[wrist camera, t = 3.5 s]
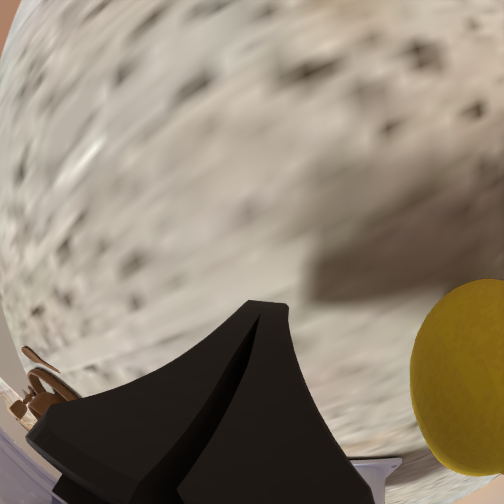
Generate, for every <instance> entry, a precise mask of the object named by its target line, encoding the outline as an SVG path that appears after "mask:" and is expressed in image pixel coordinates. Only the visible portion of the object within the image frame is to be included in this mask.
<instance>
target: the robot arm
mask: <svg viewBox="0 0 504 504" xmlns="http://www.w3.org/2000/svg"><path fill="white" fill-rule="evenodd" d="M288 314H289V307H288V305H287V304H285V303H274V302H264V301H254V300H248V301H247V302H245V303H244V304H243V305H242V306H241V307H240V308H239V309H238V310H237V311H236V312H235V313H234V314H233V315H231V316H230V317H229V318H228V319H227V320H226V321H225V322H224V323H223V324H221V325H220V326H219V327H218V328H217V329H216V330H214V331H213V332H212V333H211V334H210V335H208V336H207V337H206V338H205V339H203V340H202V341H201V342H199V343H198V344H197V345H195V346H194V347H193V348H191V349H190V350H188V351H187V352H186V353H184V354H183V355H181V356H180V357H178V358H176V359H175V360H173V361H172V362H170V363H168V364H166V365H165V366H163V367H161V368H159V369H157V370H156V371H153V372H151V373H149V374H147V375H145V376H143V377H141V378H139V379H136V380H134V381H132V382H130V383H127V384H125V385H122V386H120V387H117V388H114V389H111V390H108V391H105V392H102V393H99V394H96V395H92V396H89V397H85V398H80V399H76V400H71V401H66V402H61V403H55V404H51V405H50V406H49V408H48V409H47V410H46V411H45V412H44V414H43V415H42V416H41V417H40V419H39V420H38V421H37V422H36V424H35V425H34V426H33V427H32V429H31V430H30V431H29V432H28V434H27V435H26V441H27V442H28V444H30V446H31V447H32V448H33V449H35V450H36V451H37V452H38V453H39V454H40V455H41V456H42V457H43V458H44V459H46V460H47V461H48V462H49V463H50V464H51V465H53V466H54V467H55V468H56V469H57V470H59V471H60V472H61V473H62V476H61V477H60V479H59V480H58V479H57V478H55V477H54V476H53V475H51V474H50V473H49V472H48V471H46V470H45V469H44V468H43V467H42V466H40V465H39V464H38V463H37V462H36V461H34V460H33V459H32V458H31V457H30V456H29V455H28V454H27V453H25V452H24V451H23V450H22V449H21V448H20V447H19V446H18V445H17V444H16V443H15V442H14V440H13V439H12V438H11V437H10V436H9V435H8V434H7V433H6V432H5V431H4V430H3V429H2V428H1V427H0V504H385V479H386V478H387V477H388V476H389V475H390V474H391V473H392V472H393V471H394V470H395V469H396V468H397V467H398V466H400V465H401V463H402V458H389V459H375V460H349V459H348V458H347V456H346V455H345V453H344V452H343V450H342V449H341V447H340V446H339V445H338V443H337V442H336V440H335V438H334V437H333V435H332V433H331V432H330V430H329V428H328V426H327V425H326V423H325V421H324V419H323V418H322V416H321V414H320V413H319V411H318V409H317V407H316V405H315V403H314V400H313V398H312V396H311V394H310V392H309V390H308V387H307V385H306V383H305V380H304V378H303V375H302V372H301V370H300V367H299V364H298V361H297V358H296V354H295V351H294V347H293V343H292V339H291V335H290V330H289V323H288Z"/></svg>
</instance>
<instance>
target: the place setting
mask: <svg viewBox="0 0 504 504" xmlns="http://www.w3.org/2000/svg"><path fill="white" fill-rule="evenodd" d="M21 350H22V352H23V353H24V354H25V355H26V356H27V357H28V358H29V359H31V360H32V361H33V362H35V363H41V364H43V365H45V366H47V367H49V368H50V369H52V370H54V371H56V372H58V373H60V372H59V370H57V369H56V368H54V367H53V366H51V365H49V364H47V363H45V362H44V361H42V360H41V359H40V358H39V357H38V356H37V355H36V354H35V353H34V352H33V351H32V350H31V349H29V348H27V347H22V349H21ZM27 377H28V380H29V382H30V384H31V386H32V387H33V388H32V387H31V386H28V388H29V390H30V394H28V395H26V398H25V399H24V400H23V402H22V401H21V400H17V401H16V402H14V403H13V405H12V406H11V407H10V410H11V411H12V412H13V413H14V414H15V415H16V416H17V417H18V418H19V419H21V418H22V417H23V416H24V415H25V413H26V412H27V407H26V405H25V404H27V403H28V402H29V401H31V400H32V397H33V396H34V397H35V398H34V399H33V400H32V401H31V402H30V403H29V405H28V408H29V410H30V411H31V413H32V414H33V415H34V416H35V418H36V419H37V420H39V419H40V417H41V416H42V415H43V414H44V412H45V411H46V410H47V409H48V408H49V406H50V405H51V404H55V403H61V402H66V401H71V400H76V399H79V398H78V397H77V396H76V395H75V394H73V393H72V392H71V391H70V390H69V389H68V388H67V387H65V386H64V385H63V384H62V383H61V382H59V381H58V380H57V379H56V378H54V377H53V376H51V375H50V374H49V373H47V372H45V371H43V370H41V369H32V370H30V371H29V372H28V373H27ZM38 377H39V378H40V379H42V380H43V381H45V382H46V383H47V384H49V385H50V386H51V387H52V388H54V389H55V390H56V391H57V392H58V393H59V394H58V393H55V394H52V393H49V392H46V391H45V390H44V388H43V387H42V385H41V383H40V381H39V379H38ZM34 390H35V391H34ZM35 392H36V393H37V394H36V393H35ZM60 394H61V395H60Z"/></svg>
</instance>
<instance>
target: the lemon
mask: <svg viewBox="0 0 504 504" xmlns="http://www.w3.org/2000/svg"><path fill="white" fill-rule="evenodd" d="M410 393H411V400H412V406H413V410H414V414H415V416H416V419H417V422H418V425H419V427H420V429H421V432H422V434H423V436H424V438H425V440H426V442H427V444H428V446H429V448H430V450H431V451H432V453H433V455H434V456H435V457H436V458H437V460H438V461H439V462H440V463H442V464H443V465H444V466H445V467H447V468H449V469H451V470H453V471H455V472H457V473H460V474H464V475H467V476H477V477H479V476H488V475H494V474H498V473H501V474H504V281H503V280H497V279H480V280H475V281H471V282H468V283H466V284H463V285H461V286H459V287H457V288H455V289H454V290H452V291H451V292H449V293H448V294H446V295H445V296H444V297H443V298H442V299H441V300H440V301H439V302H438V303H437V304H436V305H435V306H434V307H433V309H432V310H431V311H430V313H429V314H428V315H427V317H426V318H425V320H424V322H423V324H422V326H421V328H420V330H419V332H418V334H417V337H416V339H415V343H414V347H413V350H412V355H411V360H410Z"/></svg>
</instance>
